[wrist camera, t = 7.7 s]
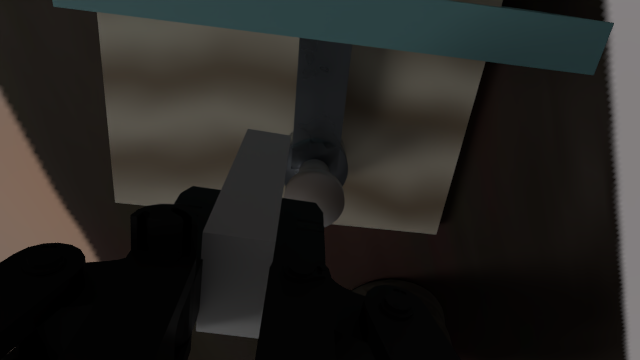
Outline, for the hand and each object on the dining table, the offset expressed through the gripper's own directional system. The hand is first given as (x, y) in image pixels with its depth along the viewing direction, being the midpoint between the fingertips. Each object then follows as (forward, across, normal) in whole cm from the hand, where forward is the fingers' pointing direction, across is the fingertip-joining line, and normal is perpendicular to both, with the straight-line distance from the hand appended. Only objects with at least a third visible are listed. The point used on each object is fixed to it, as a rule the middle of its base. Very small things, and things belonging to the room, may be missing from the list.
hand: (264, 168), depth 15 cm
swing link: (+14, +2, 0) cm, 14 cm away
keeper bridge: (+16, +2, +5) cm, 17 cm away
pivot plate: (+16, 0, -1) cm, 16 cm away
